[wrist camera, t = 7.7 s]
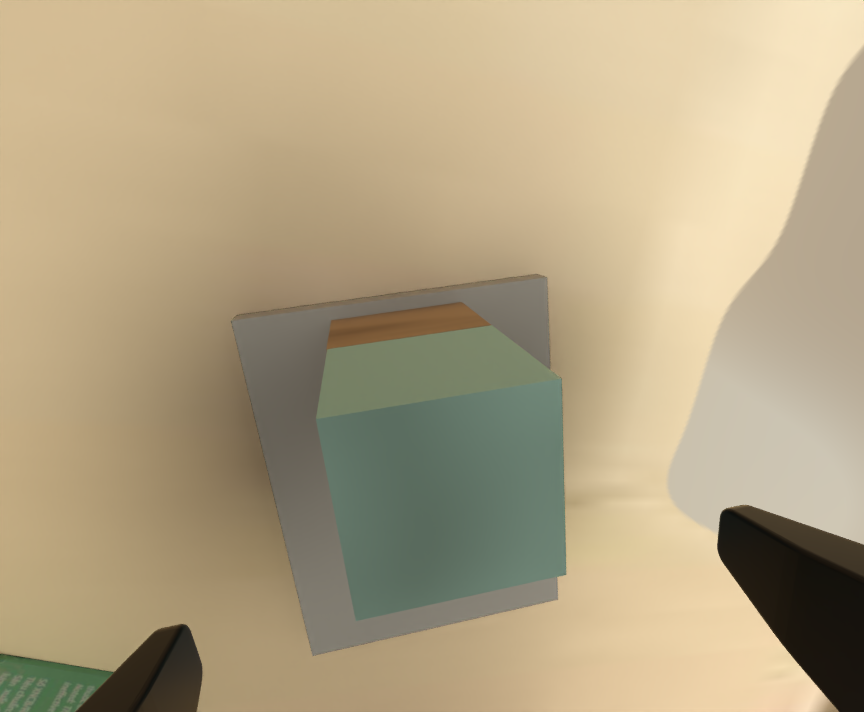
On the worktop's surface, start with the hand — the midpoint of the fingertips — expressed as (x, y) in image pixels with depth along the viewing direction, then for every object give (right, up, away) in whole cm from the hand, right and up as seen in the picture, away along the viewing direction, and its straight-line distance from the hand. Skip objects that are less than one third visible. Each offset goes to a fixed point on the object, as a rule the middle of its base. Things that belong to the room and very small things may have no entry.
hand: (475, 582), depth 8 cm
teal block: (-1, +2, +7) cm, 7 cm away
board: (-1, -1, +13) cm, 13 cm away
